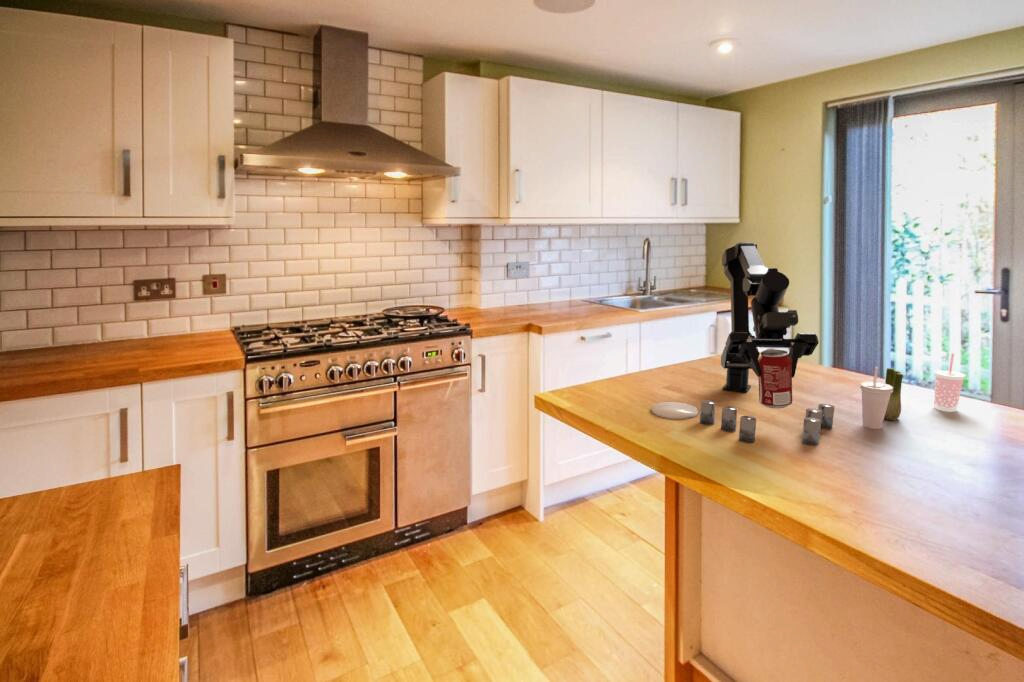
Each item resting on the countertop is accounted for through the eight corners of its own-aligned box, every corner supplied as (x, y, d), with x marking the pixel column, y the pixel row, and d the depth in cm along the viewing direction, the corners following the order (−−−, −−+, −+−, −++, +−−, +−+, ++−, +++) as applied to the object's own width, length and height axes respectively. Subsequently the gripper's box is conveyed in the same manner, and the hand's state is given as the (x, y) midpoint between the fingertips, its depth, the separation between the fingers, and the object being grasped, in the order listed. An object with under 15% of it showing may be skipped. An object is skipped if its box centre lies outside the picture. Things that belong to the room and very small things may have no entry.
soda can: (795, 409, 132) (794, 355, 129) (762, 410, 133) (760, 357, 131) (788, 399, 138) (787, 348, 136) (756, 401, 140) (755, 350, 137)
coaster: (659, 402, 158) (659, 399, 158) (702, 409, 152) (702, 406, 152) (645, 414, 149) (645, 411, 149) (690, 422, 143) (690, 418, 143)
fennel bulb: (899, 423, 140) (906, 373, 138) (875, 420, 143) (881, 370, 140) (899, 416, 145) (905, 367, 143) (875, 413, 148) (881, 365, 145)
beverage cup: (933, 403, 155) (940, 349, 152) (962, 408, 150) (970, 353, 148) (927, 408, 150) (934, 353, 148) (957, 414, 146) (965, 357, 143)
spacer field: (698, 420, 144) (699, 400, 143) (829, 424, 140) (831, 403, 139) (709, 441, 131) (710, 419, 130) (853, 446, 127) (856, 424, 126)
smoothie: (849, 422, 142) (856, 363, 139) (875, 421, 142) (882, 362, 139) (867, 431, 136) (874, 371, 133) (895, 430, 136) (902, 370, 133)
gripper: (731, 296, 136) (739, 356, 127) (819, 297, 133) (834, 358, 125) (722, 324, 145) (729, 382, 137) (804, 325, 143) (816, 384, 134)
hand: (776, 376), depth 133 cm, fingers closed on soda can, 7 cm apart
